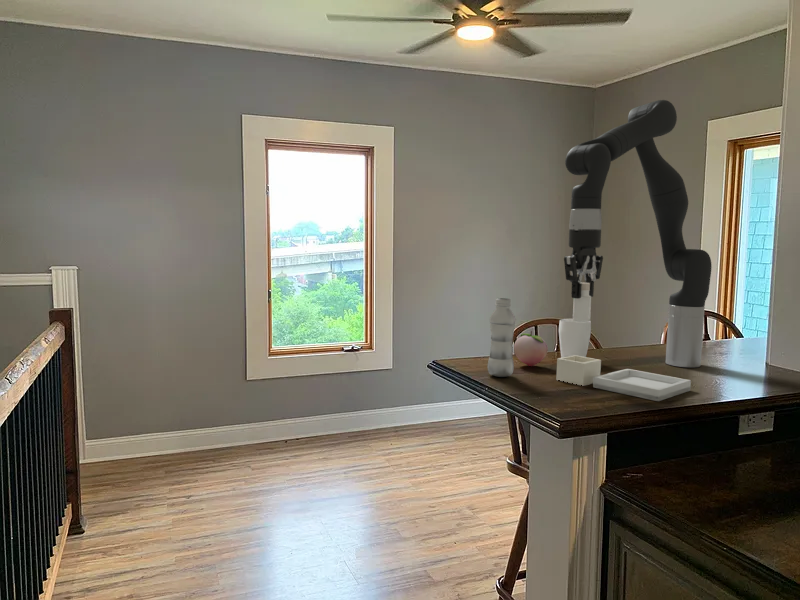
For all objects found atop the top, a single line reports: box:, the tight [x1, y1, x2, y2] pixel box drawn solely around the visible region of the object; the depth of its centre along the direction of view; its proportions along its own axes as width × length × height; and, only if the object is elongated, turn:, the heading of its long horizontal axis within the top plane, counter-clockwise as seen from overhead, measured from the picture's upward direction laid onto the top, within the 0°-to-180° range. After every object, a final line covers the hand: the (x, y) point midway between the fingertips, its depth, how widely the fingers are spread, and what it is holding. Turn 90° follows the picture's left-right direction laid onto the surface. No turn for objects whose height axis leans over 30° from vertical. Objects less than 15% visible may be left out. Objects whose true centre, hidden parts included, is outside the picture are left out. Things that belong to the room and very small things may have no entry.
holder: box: [555, 355, 602, 387], centre depth 150 cm, size 8×8×6 cm
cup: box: [558, 318, 592, 358], centre depth 175 cm, size 9×9×12 cm
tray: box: [592, 368, 692, 402], centre depth 143 cm, size 16×16×2 cm
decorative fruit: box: [513, 330, 549, 367], centre depth 166 cm, size 9×8×10 cm
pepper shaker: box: [572, 281, 592, 322], centre depth 148 cm, size 4×4×10 cm
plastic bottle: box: [487, 297, 517, 378], centre depth 153 cm, size 6×7×20 cm
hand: (582, 297), depth 148 cm, fingers closed on pepper shaker, 5 cm apart
